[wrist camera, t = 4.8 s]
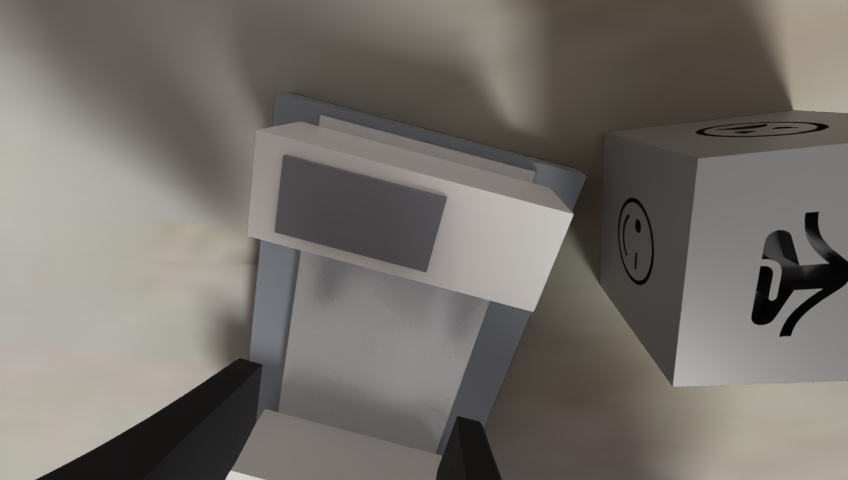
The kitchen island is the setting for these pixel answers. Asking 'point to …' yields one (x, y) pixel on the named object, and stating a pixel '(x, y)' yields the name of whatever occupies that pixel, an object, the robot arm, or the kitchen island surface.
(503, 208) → the mounted modules
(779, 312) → the dice cube
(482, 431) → the robot arm
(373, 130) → the board
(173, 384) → the kitchen island surface
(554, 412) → the kitchen island surface
